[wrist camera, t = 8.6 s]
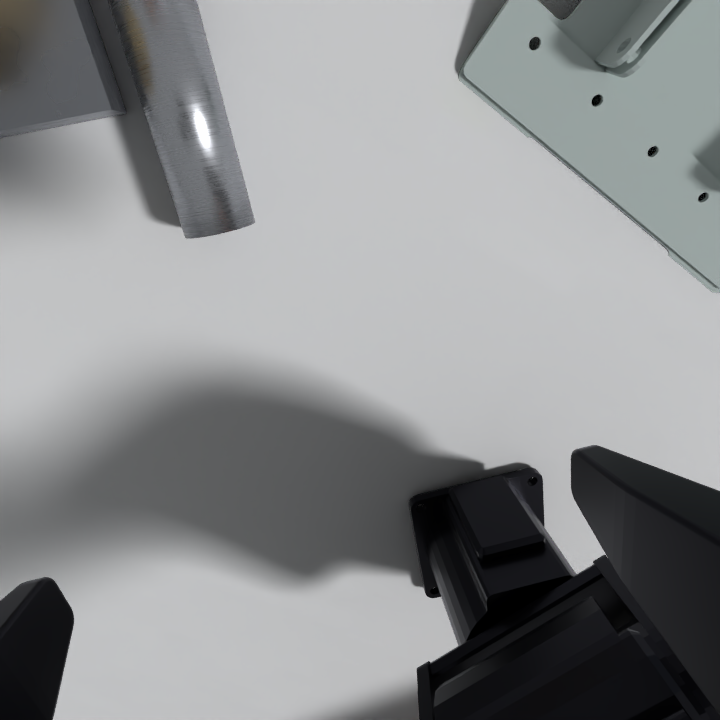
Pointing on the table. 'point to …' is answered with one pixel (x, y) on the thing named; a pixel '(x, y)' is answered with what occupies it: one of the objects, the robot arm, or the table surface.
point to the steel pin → (185, 112)
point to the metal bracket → (620, 107)
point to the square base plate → (52, 67)
